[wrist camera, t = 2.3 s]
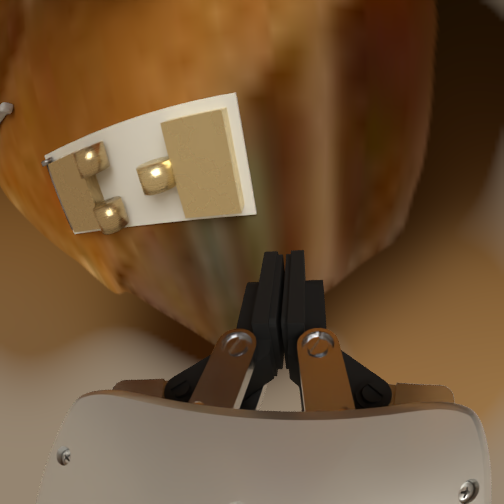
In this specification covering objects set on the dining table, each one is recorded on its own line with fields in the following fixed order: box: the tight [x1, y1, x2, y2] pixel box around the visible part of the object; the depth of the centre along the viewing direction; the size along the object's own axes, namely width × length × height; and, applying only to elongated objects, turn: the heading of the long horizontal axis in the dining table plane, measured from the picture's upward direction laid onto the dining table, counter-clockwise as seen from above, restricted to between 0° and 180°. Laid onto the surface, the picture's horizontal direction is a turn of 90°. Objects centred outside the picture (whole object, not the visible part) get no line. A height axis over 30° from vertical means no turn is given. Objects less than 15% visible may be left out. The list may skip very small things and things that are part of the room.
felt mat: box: [45, 93, 257, 234], centre depth 33 cm, size 15×32×1 cm, turn 99°
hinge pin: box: [41, 157, 73, 230], centre depth 35 cm, size 13×2×2 cm, turn 9°
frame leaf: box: [48, 141, 129, 234], centre depth 32 cm, size 12×11×4 cm
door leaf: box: [136, 107, 245, 218], centre depth 29 cm, size 12×11×4 cm
